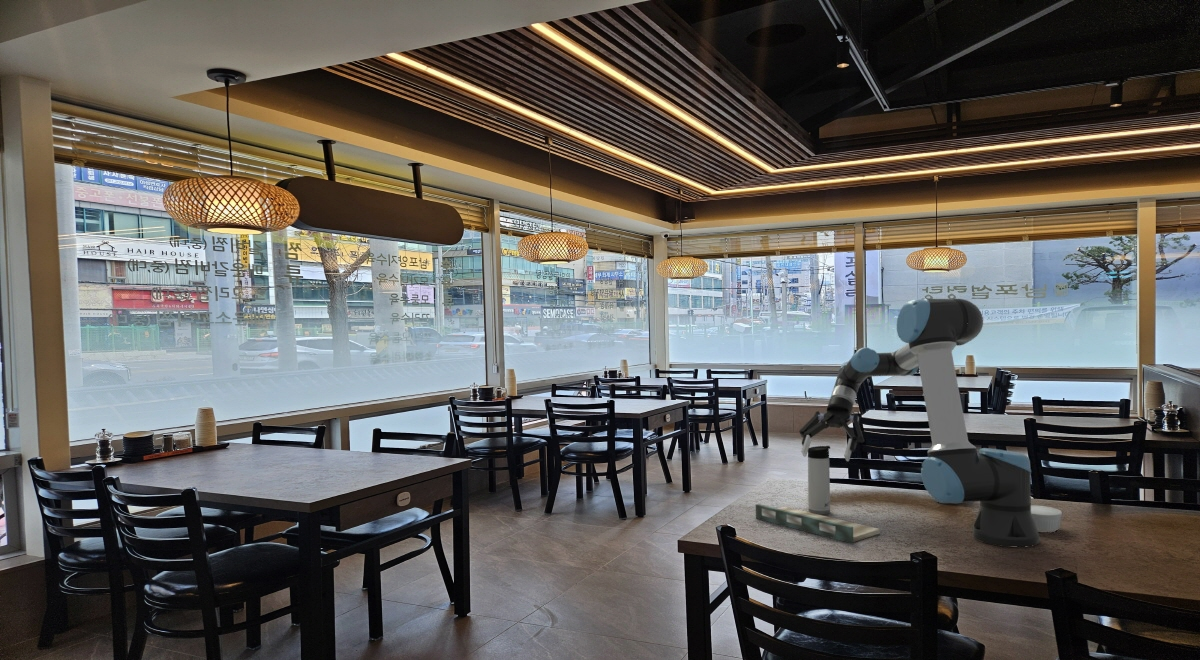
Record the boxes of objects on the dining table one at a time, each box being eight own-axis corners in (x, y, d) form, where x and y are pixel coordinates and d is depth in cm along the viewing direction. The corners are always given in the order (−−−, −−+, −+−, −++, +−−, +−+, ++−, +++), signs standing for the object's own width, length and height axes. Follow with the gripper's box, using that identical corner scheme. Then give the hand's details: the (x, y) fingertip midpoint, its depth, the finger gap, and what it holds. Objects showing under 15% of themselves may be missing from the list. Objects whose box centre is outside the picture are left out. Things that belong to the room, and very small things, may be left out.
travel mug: (832, 515, 218) (831, 447, 218) (809, 514, 219) (808, 447, 219) (829, 509, 224) (828, 444, 224) (807, 509, 225) (806, 444, 225)
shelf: (879, 533, 199) (879, 518, 199) (850, 542, 191) (850, 527, 191) (784, 510, 224) (784, 497, 224) (755, 518, 216) (755, 504, 216)
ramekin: (1015, 521, 208) (1015, 502, 208) (1061, 526, 203) (1061, 507, 203) (1014, 531, 199) (1014, 511, 199) (1063, 536, 193) (1062, 516, 193)
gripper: (883, 412, 233) (868, 467, 222) (807, 408, 249) (790, 459, 237) (877, 397, 229) (862, 453, 217) (801, 393, 244) (783, 445, 233)
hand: (824, 456), depth 227 cm, fingers open, 13 cm apart
